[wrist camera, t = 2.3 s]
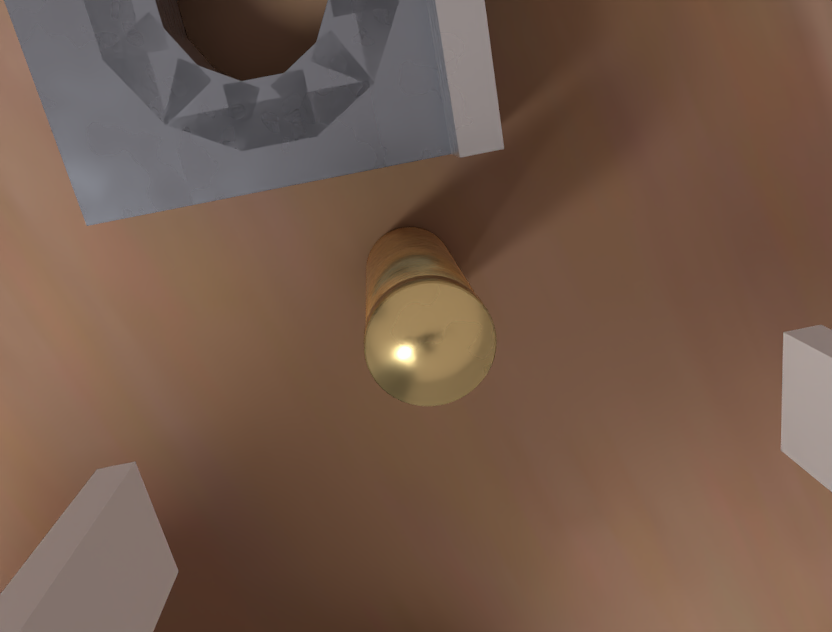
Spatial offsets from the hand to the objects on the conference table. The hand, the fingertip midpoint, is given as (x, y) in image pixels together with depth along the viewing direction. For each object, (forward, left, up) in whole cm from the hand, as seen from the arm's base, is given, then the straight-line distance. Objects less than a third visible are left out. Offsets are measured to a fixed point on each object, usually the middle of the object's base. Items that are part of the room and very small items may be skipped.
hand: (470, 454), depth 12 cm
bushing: (0, 0, -17) cm, 17 cm away
